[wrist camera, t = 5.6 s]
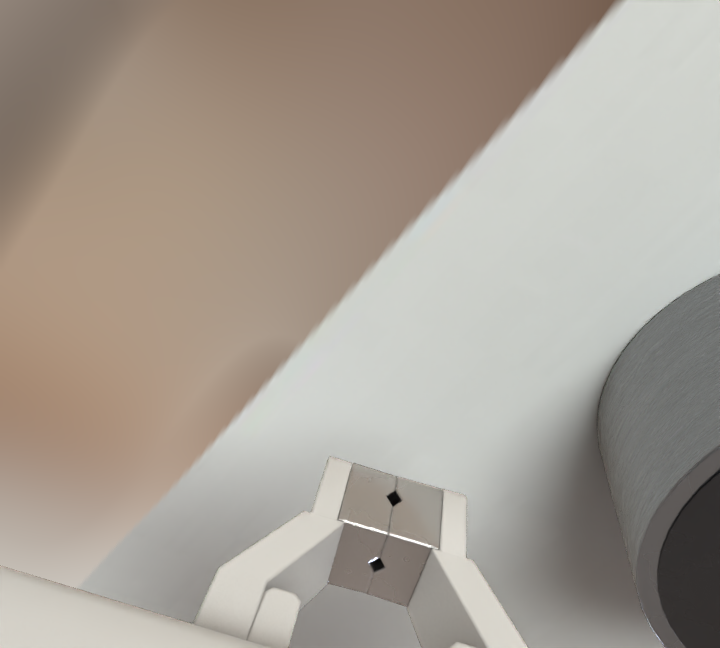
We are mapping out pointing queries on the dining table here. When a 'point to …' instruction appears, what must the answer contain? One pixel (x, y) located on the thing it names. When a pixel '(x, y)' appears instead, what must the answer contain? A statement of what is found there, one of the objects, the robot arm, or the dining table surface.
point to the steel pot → (670, 465)
